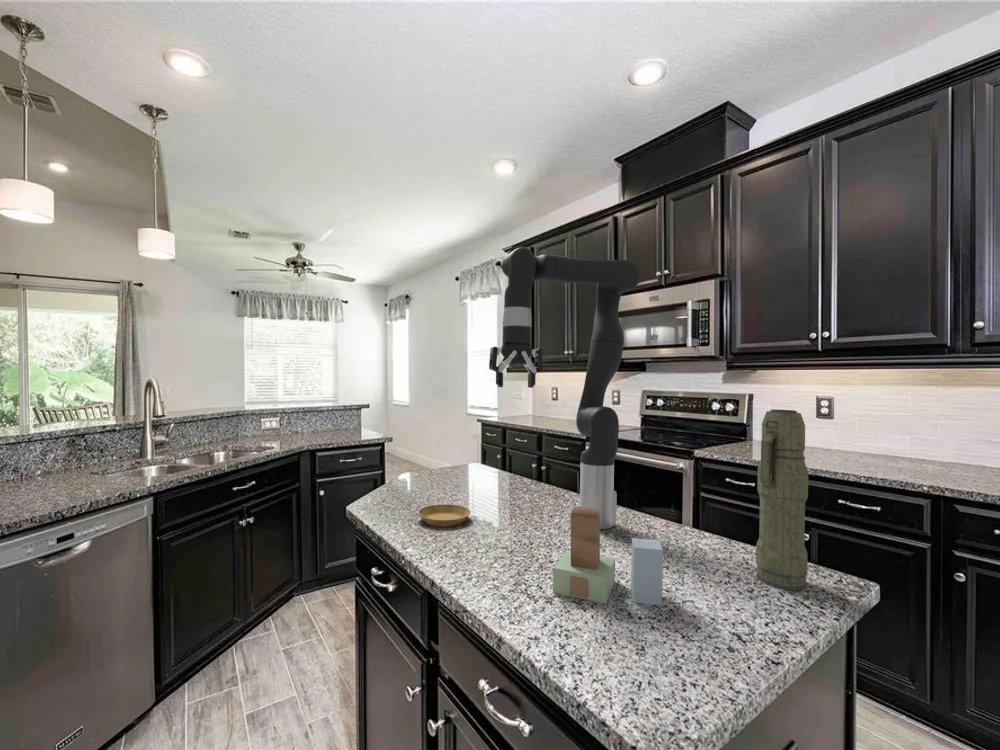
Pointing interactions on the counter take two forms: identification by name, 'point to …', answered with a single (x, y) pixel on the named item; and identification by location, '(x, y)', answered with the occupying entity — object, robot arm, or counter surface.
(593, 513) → the walnut block
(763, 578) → the thermos
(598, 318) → the robot arm
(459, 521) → the plant saucer
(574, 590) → the base block
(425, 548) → the counter surface
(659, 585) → the slate block
